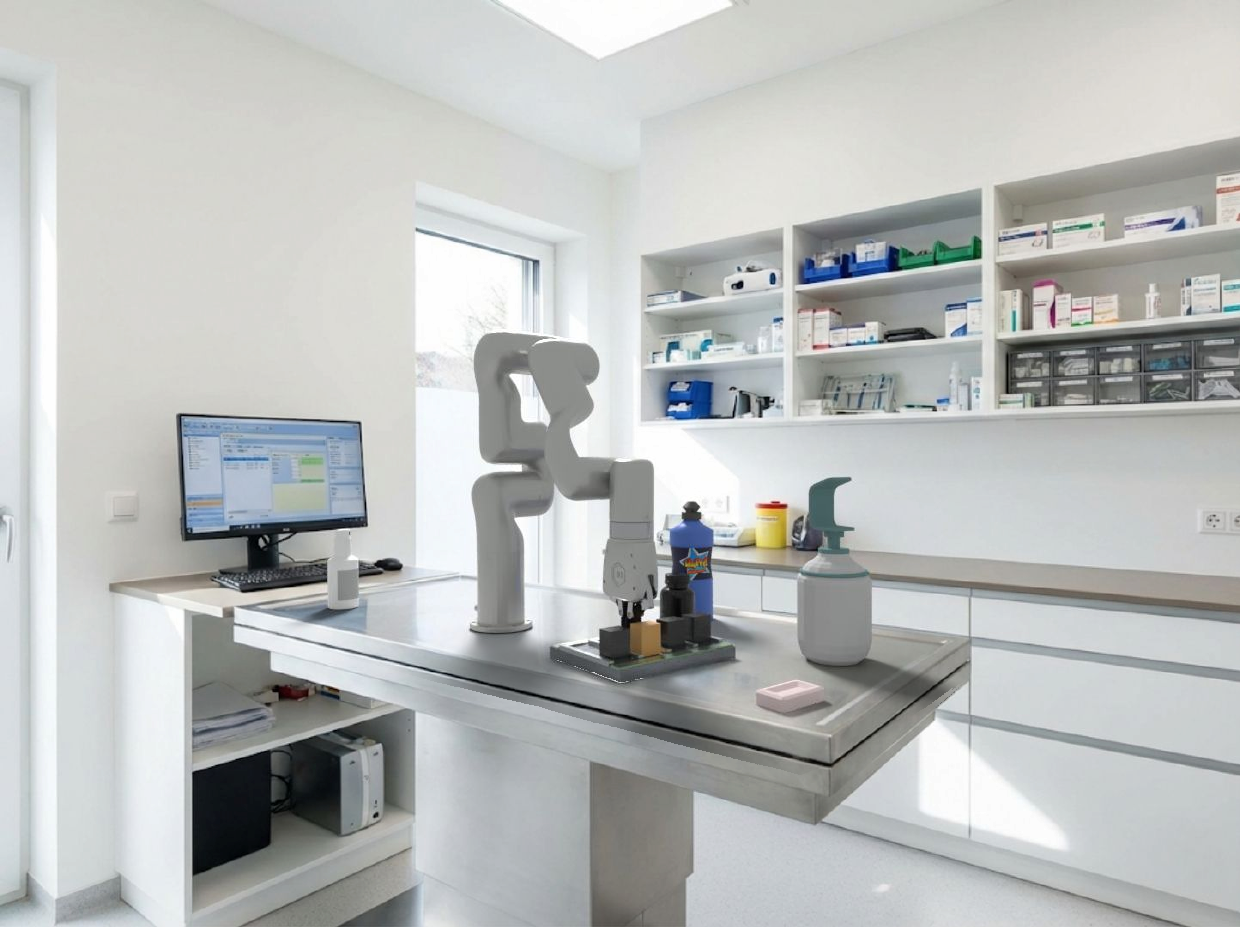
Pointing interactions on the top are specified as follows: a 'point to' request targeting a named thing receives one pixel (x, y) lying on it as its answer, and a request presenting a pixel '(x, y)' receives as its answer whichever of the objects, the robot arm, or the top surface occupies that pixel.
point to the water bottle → (694, 555)
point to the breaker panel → (680, 650)
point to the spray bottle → (342, 574)
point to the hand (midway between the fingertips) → (631, 639)
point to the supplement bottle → (677, 596)
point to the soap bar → (789, 696)
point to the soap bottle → (833, 591)
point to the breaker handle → (645, 638)
